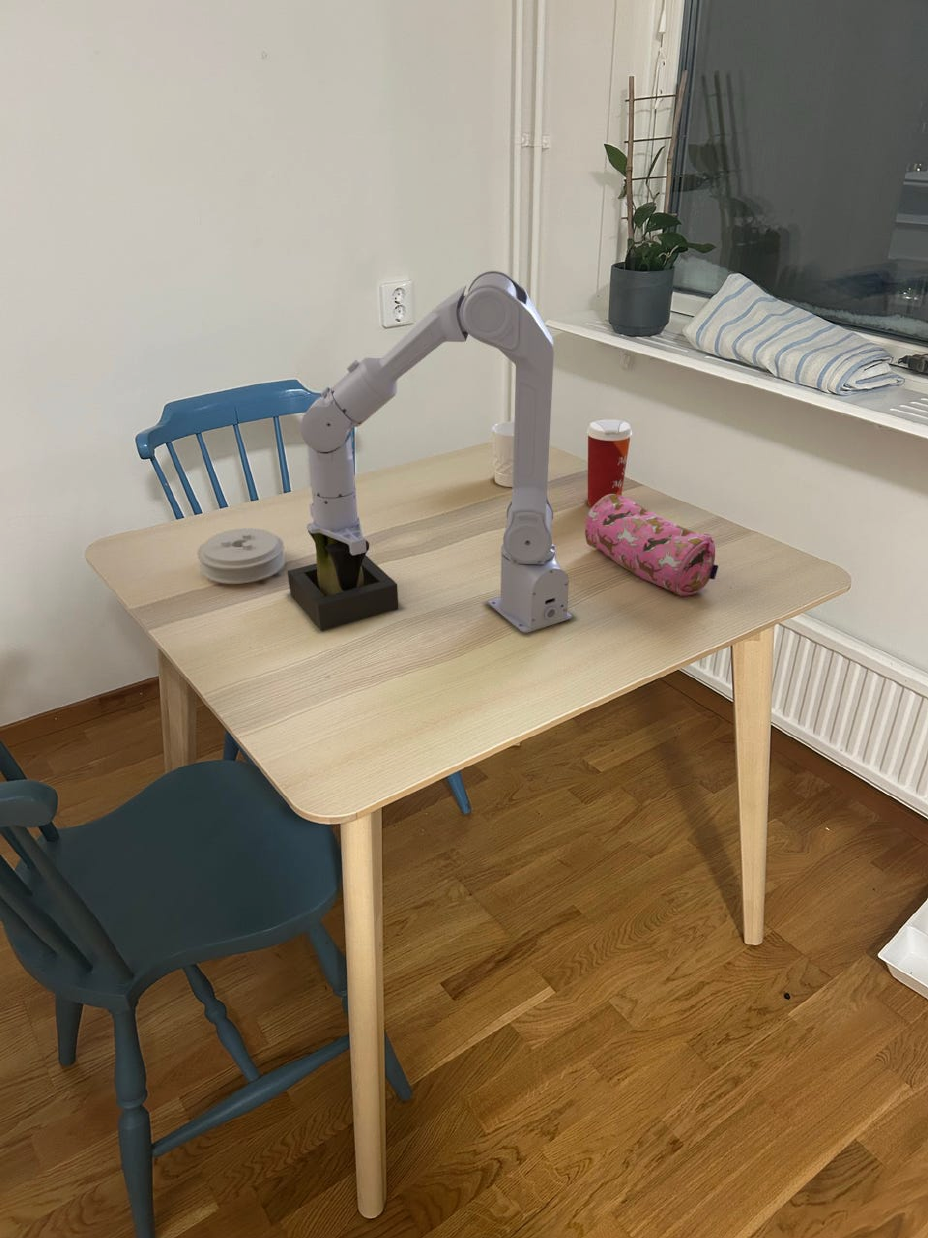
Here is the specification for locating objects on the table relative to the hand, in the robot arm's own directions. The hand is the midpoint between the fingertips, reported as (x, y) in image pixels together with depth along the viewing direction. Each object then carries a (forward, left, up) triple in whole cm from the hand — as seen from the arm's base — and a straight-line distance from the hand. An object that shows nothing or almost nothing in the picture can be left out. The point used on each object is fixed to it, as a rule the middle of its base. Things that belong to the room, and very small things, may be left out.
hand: (341, 580), depth 124 cm
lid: (+17, +9, -4) cm, 20 cm away
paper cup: (+9, -53, -4) cm, 54 cm away
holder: (0, 0, -3) cm, 3 cm away
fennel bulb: (0, 0, -4) cm, 4 cm away
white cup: (+26, -45, -4) cm, 52 cm away
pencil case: (-14, -43, -4) cm, 45 cm away
